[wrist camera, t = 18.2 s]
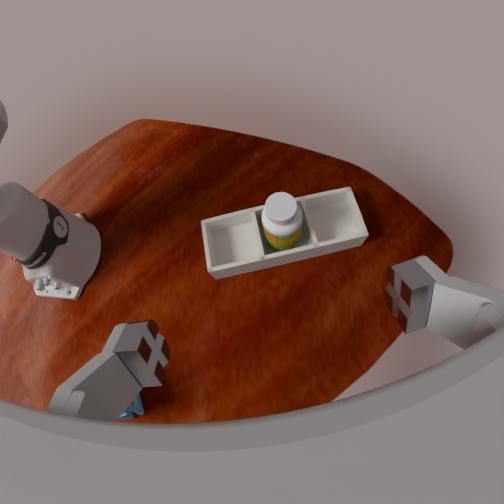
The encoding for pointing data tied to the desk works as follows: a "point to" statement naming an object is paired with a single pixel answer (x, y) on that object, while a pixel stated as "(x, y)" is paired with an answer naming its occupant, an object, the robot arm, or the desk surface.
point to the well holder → (264, 256)
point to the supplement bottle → (282, 221)
